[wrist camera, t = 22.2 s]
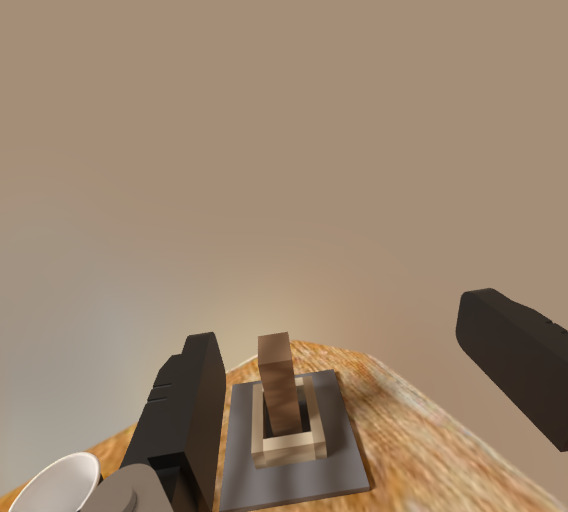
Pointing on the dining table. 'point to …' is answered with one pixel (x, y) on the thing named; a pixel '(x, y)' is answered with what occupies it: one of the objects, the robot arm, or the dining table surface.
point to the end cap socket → (290, 449)
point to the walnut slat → (279, 384)
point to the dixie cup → (61, 485)
